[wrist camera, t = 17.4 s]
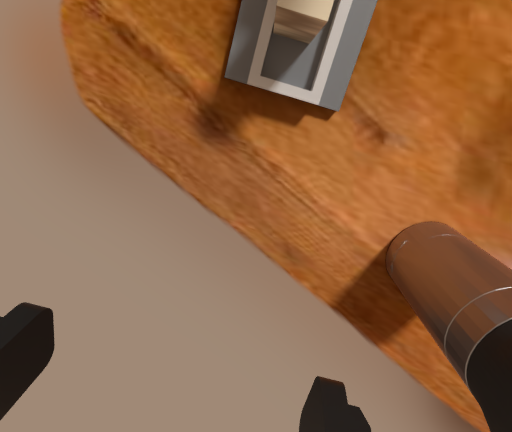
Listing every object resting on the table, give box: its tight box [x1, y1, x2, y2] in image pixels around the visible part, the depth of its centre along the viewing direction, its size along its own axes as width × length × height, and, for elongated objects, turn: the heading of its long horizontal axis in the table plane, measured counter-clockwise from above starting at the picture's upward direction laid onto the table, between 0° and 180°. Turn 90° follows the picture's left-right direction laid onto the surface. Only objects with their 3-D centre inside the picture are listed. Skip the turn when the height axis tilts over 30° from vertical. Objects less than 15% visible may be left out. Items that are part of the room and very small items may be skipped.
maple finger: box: [273, 0, 334, 44], centre depth 26 cm, size 4×4×10 cm
